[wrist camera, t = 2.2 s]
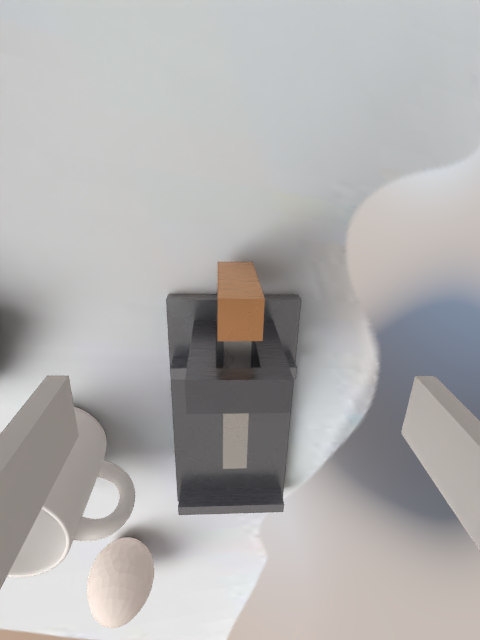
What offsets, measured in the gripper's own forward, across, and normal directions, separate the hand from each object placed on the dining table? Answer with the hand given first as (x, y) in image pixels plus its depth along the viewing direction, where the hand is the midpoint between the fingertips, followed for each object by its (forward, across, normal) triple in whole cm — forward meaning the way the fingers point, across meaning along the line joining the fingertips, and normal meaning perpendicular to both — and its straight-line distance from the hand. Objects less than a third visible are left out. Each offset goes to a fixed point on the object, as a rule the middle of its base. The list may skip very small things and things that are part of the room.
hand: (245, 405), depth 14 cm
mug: (+17, -14, -16) cm, 27 cm away
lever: (+15, 0, -6) cm, 16 cm away
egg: (+17, -11, -30) cm, 37 cm away
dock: (+17, 0, -12) cm, 21 cm away
